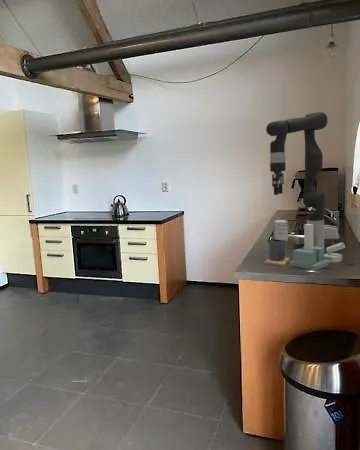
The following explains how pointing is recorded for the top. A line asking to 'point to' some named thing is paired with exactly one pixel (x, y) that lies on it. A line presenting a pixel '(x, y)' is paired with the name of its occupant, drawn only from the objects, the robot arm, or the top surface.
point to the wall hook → (334, 256)
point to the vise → (309, 253)
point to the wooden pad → (280, 263)
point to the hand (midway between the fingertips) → (278, 194)
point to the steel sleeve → (277, 250)
